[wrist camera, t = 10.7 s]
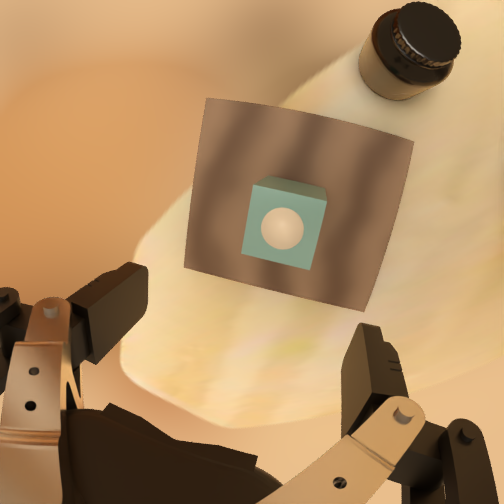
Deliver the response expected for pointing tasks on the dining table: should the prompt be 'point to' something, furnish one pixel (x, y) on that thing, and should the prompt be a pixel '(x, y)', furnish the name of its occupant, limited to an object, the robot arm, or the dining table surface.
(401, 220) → the dining table surface
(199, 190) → the brown wooden board
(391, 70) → the supplement bottle
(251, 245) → the green cube with circle
